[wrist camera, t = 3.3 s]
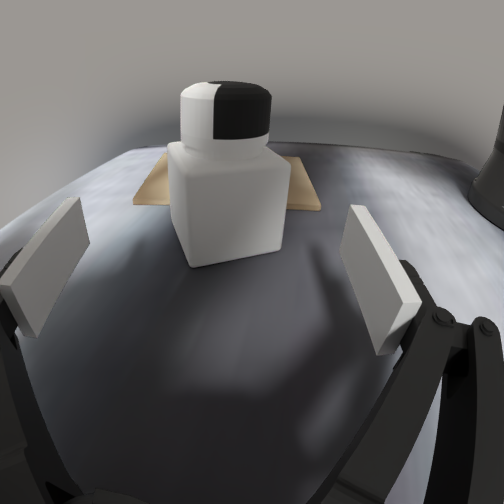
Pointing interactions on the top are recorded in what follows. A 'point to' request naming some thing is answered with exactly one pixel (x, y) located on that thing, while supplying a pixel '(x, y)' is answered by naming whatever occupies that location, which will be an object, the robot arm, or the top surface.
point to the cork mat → (298, 197)
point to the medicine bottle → (226, 175)
